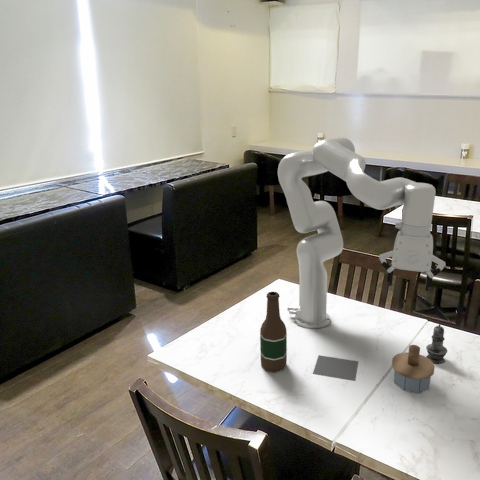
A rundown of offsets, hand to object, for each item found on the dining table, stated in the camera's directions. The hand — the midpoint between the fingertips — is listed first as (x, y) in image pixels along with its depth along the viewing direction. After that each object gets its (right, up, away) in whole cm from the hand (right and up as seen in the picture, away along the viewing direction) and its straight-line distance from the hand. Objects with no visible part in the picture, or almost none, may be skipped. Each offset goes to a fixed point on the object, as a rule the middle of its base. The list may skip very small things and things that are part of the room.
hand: (408, 286), depth 129 cm
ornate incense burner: (+11, -23, +9) cm, 27 cm away
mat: (-19, -25, +6) cm, 32 cm away
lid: (0, -22, -3) cm, 22 cm away
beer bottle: (-38, -25, +8) cm, 46 cm away
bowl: (0, -27, -1) cm, 27 cm away
